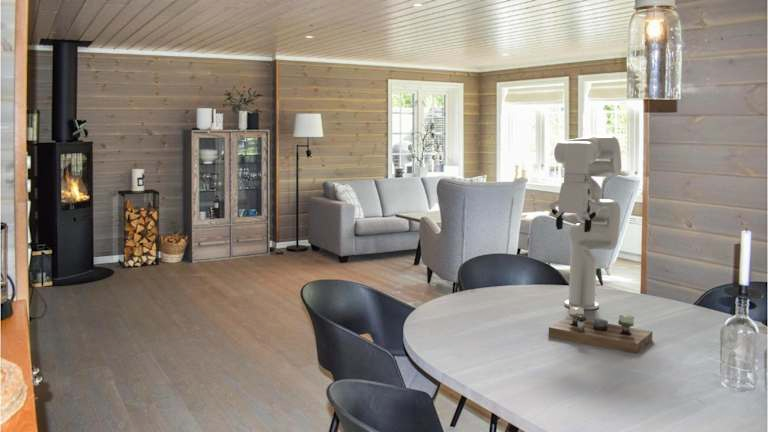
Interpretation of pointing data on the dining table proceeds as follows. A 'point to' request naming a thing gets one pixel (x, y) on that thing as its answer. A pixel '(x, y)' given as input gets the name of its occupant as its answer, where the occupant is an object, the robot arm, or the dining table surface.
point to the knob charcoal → (600, 324)
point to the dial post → (581, 322)
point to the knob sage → (626, 323)
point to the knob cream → (574, 312)
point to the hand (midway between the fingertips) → (573, 230)
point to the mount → (602, 335)
